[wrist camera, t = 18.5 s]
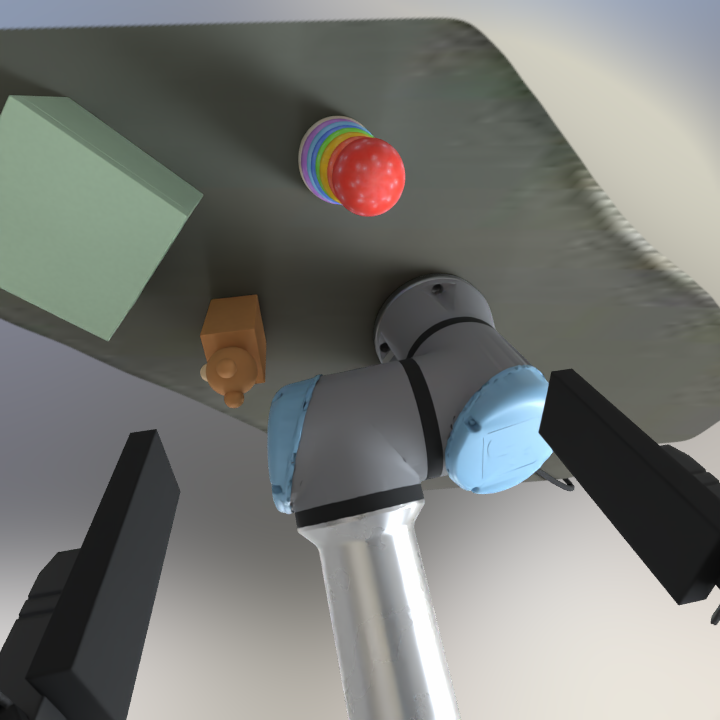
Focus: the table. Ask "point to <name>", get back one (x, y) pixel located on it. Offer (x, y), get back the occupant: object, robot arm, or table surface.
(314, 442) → the robot arm
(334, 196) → the stacking toy
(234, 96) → the table surface
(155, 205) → the pale green square stand
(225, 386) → the plush bear
